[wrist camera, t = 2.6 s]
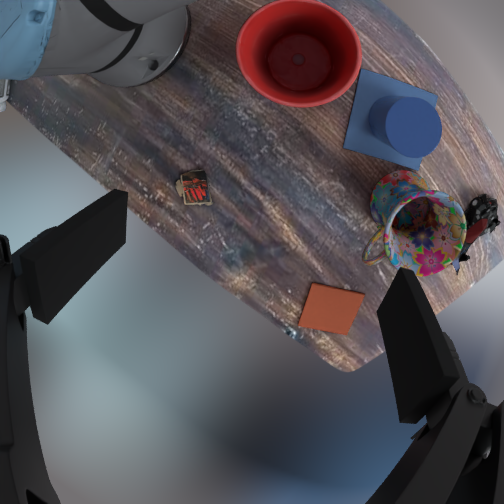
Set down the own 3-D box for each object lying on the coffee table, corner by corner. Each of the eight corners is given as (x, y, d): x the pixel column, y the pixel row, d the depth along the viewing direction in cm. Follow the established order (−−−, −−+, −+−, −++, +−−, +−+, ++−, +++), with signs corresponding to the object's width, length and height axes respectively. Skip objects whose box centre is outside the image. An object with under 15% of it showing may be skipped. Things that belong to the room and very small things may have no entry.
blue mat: (360, 68, 30) (361, 68, 30) (436, 95, 30) (438, 96, 30) (342, 147, 35) (343, 148, 35) (417, 170, 35) (418, 171, 34)
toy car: (425, 237, 39) (435, 251, 35) (485, 182, 33) (500, 191, 30) (446, 265, 40) (456, 280, 36) (502, 213, 35) (516, 225, 31)
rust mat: (312, 282, 44) (312, 283, 44) (364, 293, 44) (365, 295, 44) (297, 324, 48) (297, 325, 48) (346, 333, 48) (346, 335, 48)
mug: (410, 151, 34) (445, 172, 25) (443, 210, 36) (477, 246, 27) (333, 203, 39) (342, 241, 29) (371, 257, 41) (387, 304, 32)
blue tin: (374, 89, 31) (392, 87, 24) (420, 105, 31) (448, 109, 24) (363, 136, 34) (378, 147, 27) (408, 151, 34) (432, 165, 27)
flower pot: (270, 8, 28) (259, -18, 20) (360, 42, 29) (378, 26, 20) (238, 85, 34) (217, 82, 25) (326, 119, 34) (335, 127, 26)
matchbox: (203, 165, 39) (202, 166, 38) (218, 201, 41) (217, 203, 40) (172, 177, 40) (170, 178, 40) (187, 212, 42) (186, 213, 42)
